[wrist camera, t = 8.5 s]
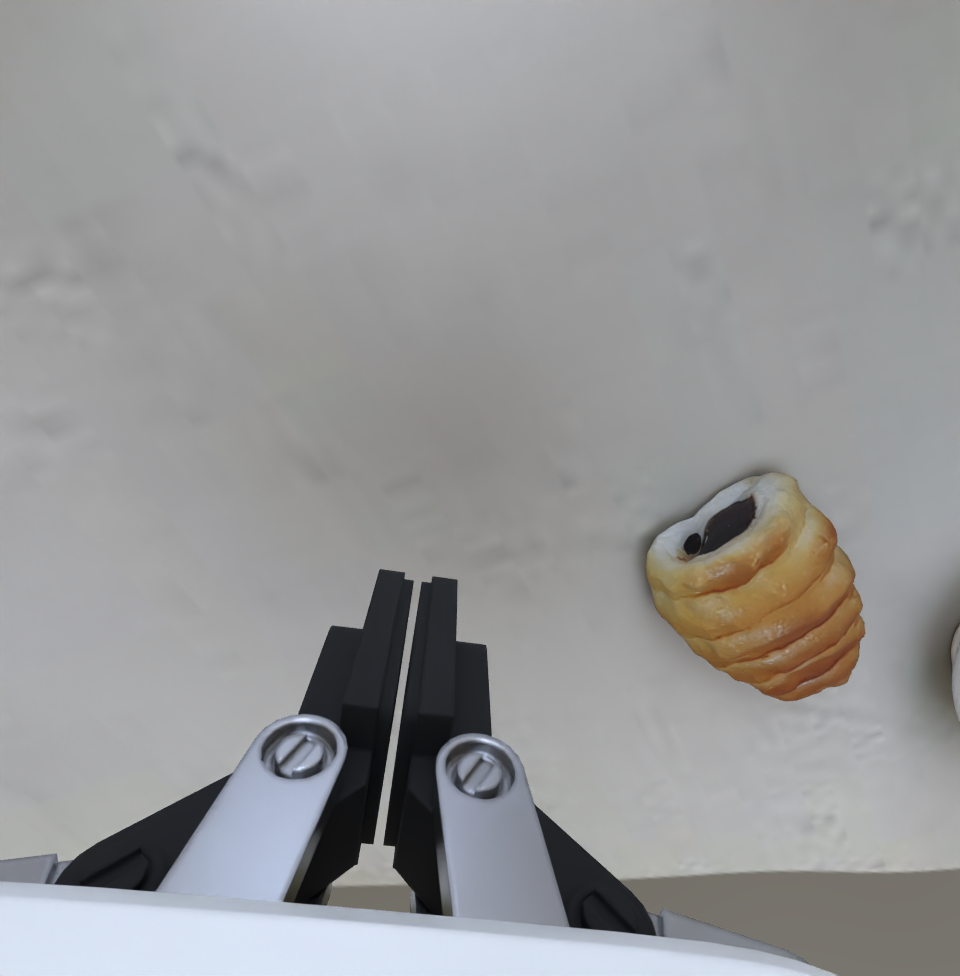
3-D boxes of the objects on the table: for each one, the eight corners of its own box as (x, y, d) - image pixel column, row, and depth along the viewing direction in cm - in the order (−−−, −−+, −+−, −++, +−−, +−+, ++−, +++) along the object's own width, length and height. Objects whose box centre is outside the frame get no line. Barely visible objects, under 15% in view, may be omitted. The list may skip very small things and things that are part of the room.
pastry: (877, 620, 24) (949, 680, 20) (735, 703, 25) (778, 773, 21) (765, 449, 21) (824, 483, 18) (614, 552, 23) (640, 602, 19)
